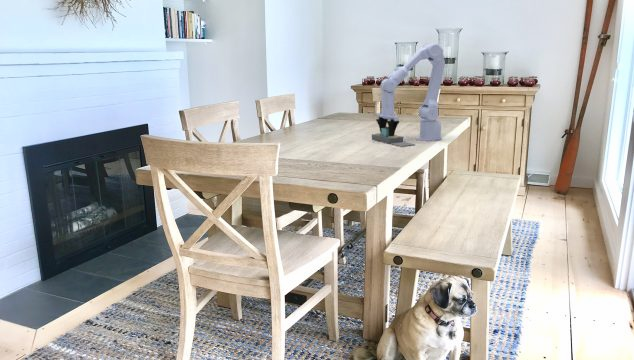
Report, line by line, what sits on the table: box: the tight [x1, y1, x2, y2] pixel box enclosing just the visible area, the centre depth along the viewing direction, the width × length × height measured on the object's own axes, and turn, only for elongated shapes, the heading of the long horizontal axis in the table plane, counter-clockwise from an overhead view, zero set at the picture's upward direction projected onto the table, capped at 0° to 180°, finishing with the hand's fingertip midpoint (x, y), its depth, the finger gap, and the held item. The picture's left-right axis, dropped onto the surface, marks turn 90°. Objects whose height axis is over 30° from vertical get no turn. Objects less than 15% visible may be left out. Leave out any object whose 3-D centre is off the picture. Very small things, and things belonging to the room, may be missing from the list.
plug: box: [380, 126, 389, 137], centre depth 245 cm, size 4×4×7 cm
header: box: [371, 132, 404, 145], centre depth 246 cm, size 8×14×3 cm, turn 28°
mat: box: [389, 141, 416, 148], centre depth 236 cm, size 8×8×1 cm
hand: (387, 134), depth 245 cm, fingers open, 6 cm apart
